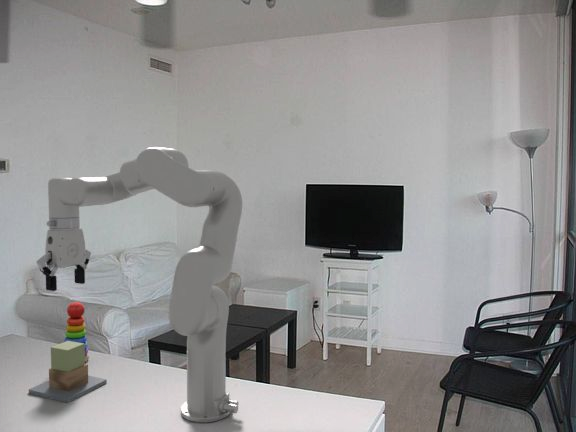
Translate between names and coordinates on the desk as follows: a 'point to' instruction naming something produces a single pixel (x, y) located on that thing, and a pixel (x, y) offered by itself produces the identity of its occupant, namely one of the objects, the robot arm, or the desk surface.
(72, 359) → the olive block
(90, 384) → the baseplate
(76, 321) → the stacking toy
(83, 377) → the walnut block
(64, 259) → the robot arm
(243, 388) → the desk surface
